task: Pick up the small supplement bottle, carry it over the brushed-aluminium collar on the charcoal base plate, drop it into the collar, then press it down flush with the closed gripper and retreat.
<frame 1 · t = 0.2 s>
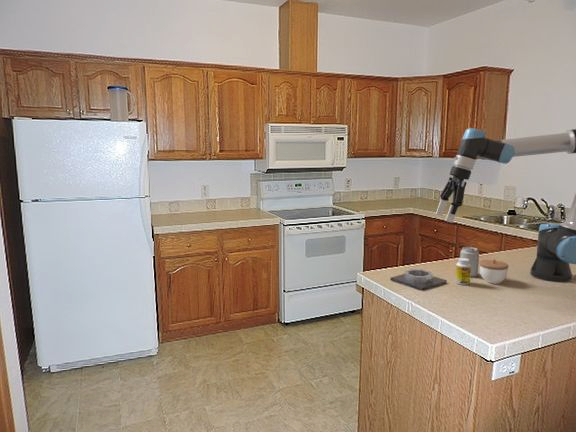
hand: (443, 218, 172), 27 cm above the countertop, tool tilted 15°, fingers open, 13 cm apart
supplement bottle: (462, 283, 174), on the countertop
can: (468, 275, 185), on the countertop
lidded jar: (492, 281, 176), on the countertop
collar: (418, 281, 176), on the countertop
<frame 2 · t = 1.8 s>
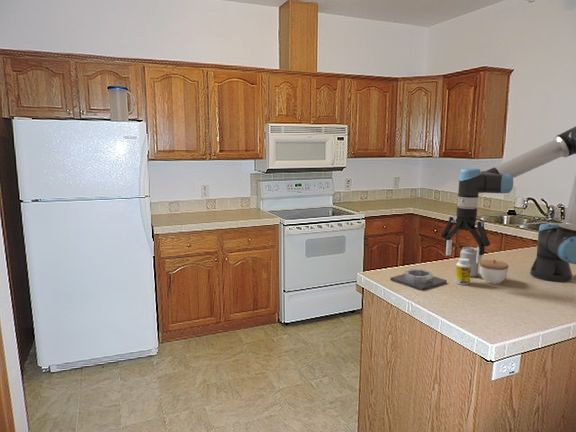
hand: (463, 258, 172), 10 cm above the countertop, tool pointing down, fingers open, 13 cm apart
nothing on the countertop moved.
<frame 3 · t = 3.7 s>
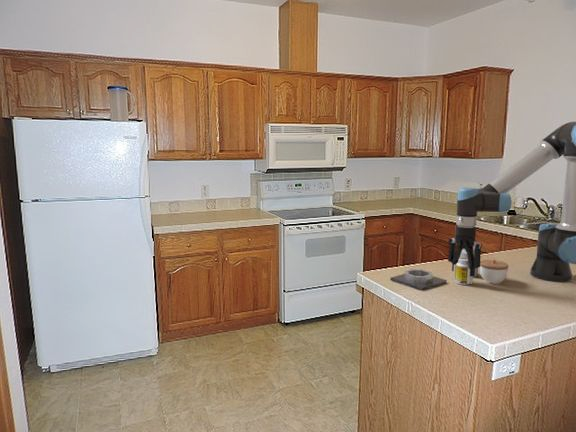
hand: (462, 281, 174), 1 cm above the countertop, tool pointing down, fingers closed on supplement bottle, 6 cm apart
supplement bottle: (462, 283, 174), on the countertop, touching gripper
everything else where it was.
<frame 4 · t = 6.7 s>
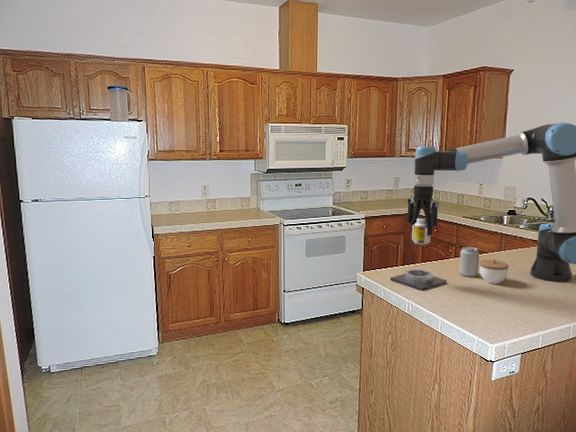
hand: (420, 241, 173), 17 cm above the countertop, tool pointing down, fingers closed on supplement bottle, 6 cm apart
supplement bottle: (420, 243, 173), point 16 cm above the countertop, touching gripper
everything else where it was.
when the fingers open (5 cm above the countertop, at t = 9.6 s): supplement bottle drops 3 cm, resting on collar.
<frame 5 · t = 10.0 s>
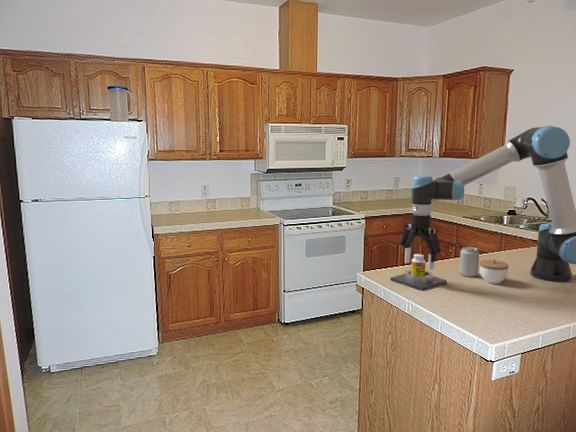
hand: (418, 265, 175), 7 cm above the countertop, tool pointing down, fingers open, 11 cm apart
supplement bottle: (417, 279, 176), point 1 cm above the countertop, touching collar
everything else where it was.
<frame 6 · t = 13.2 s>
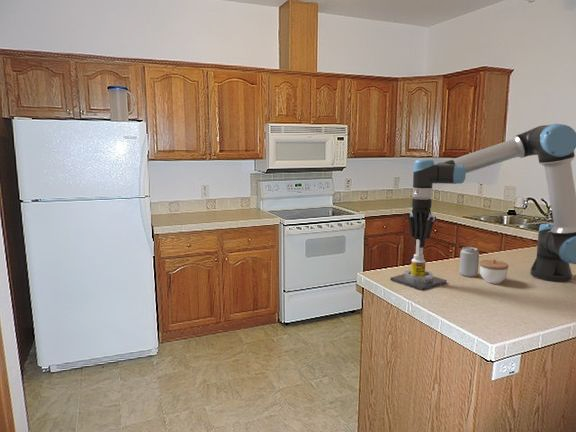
hand: (419, 254, 174), 12 cm above the countertop, tool pointing down, fingers closed
supplement bottle: (417, 279, 176), point 1 cm above the countertop, touching collar, gripper
everything else where it was.
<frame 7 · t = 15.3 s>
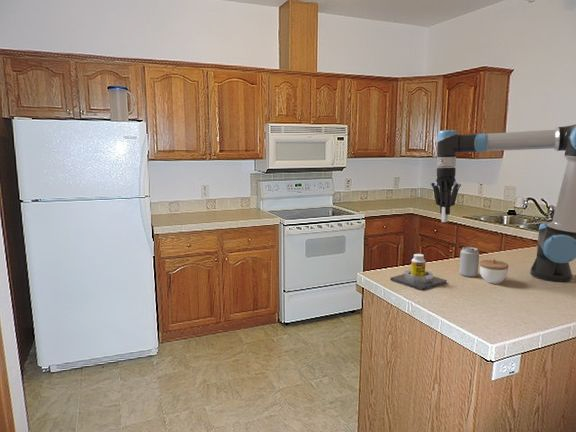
hand: (444, 221, 183), 23 cm above the countertop, tool pointing down, fingers closed
supplement bottle: (417, 279, 176), point 1 cm above the countertop, touching collar
everything else where it was.
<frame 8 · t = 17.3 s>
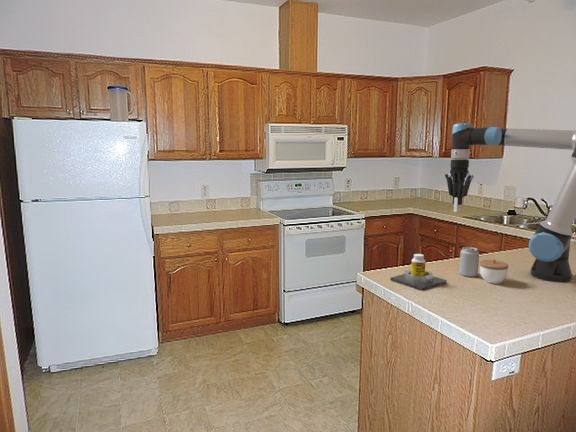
hand: (456, 211, 190), 26 cm above the countertop, tool pointing down, fingers closed
nothing on the countertop moved.
at the end: supplement bottle 0.3 cm from the collar (horizontally); supplement bottle point 1.0 cm above the countertop; supplement bottle tilted 0° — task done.
